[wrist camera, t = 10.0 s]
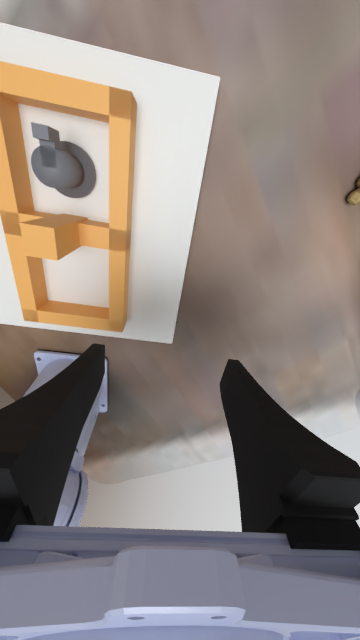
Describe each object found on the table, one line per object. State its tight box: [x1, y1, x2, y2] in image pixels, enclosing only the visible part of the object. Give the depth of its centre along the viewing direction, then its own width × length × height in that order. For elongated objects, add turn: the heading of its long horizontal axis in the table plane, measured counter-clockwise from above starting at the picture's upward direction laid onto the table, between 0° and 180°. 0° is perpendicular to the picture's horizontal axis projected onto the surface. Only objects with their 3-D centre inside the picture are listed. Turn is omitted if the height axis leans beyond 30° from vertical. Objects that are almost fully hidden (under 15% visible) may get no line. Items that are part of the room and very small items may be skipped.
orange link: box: [0, 61, 137, 332], centre depth 15 cm, size 16×8×6 cm, turn 171°
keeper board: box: [0, 22, 220, 344], centre depth 16 cm, size 20×18×5 cm
